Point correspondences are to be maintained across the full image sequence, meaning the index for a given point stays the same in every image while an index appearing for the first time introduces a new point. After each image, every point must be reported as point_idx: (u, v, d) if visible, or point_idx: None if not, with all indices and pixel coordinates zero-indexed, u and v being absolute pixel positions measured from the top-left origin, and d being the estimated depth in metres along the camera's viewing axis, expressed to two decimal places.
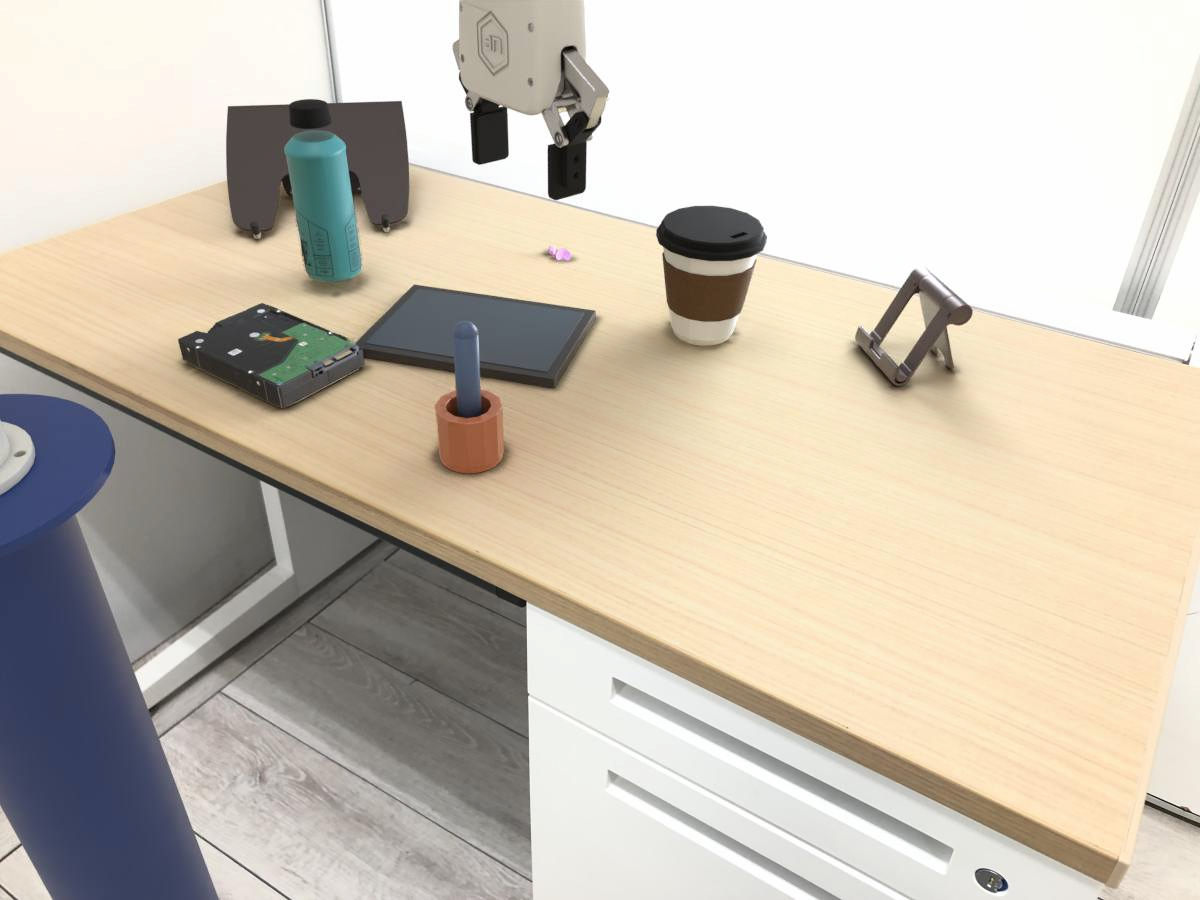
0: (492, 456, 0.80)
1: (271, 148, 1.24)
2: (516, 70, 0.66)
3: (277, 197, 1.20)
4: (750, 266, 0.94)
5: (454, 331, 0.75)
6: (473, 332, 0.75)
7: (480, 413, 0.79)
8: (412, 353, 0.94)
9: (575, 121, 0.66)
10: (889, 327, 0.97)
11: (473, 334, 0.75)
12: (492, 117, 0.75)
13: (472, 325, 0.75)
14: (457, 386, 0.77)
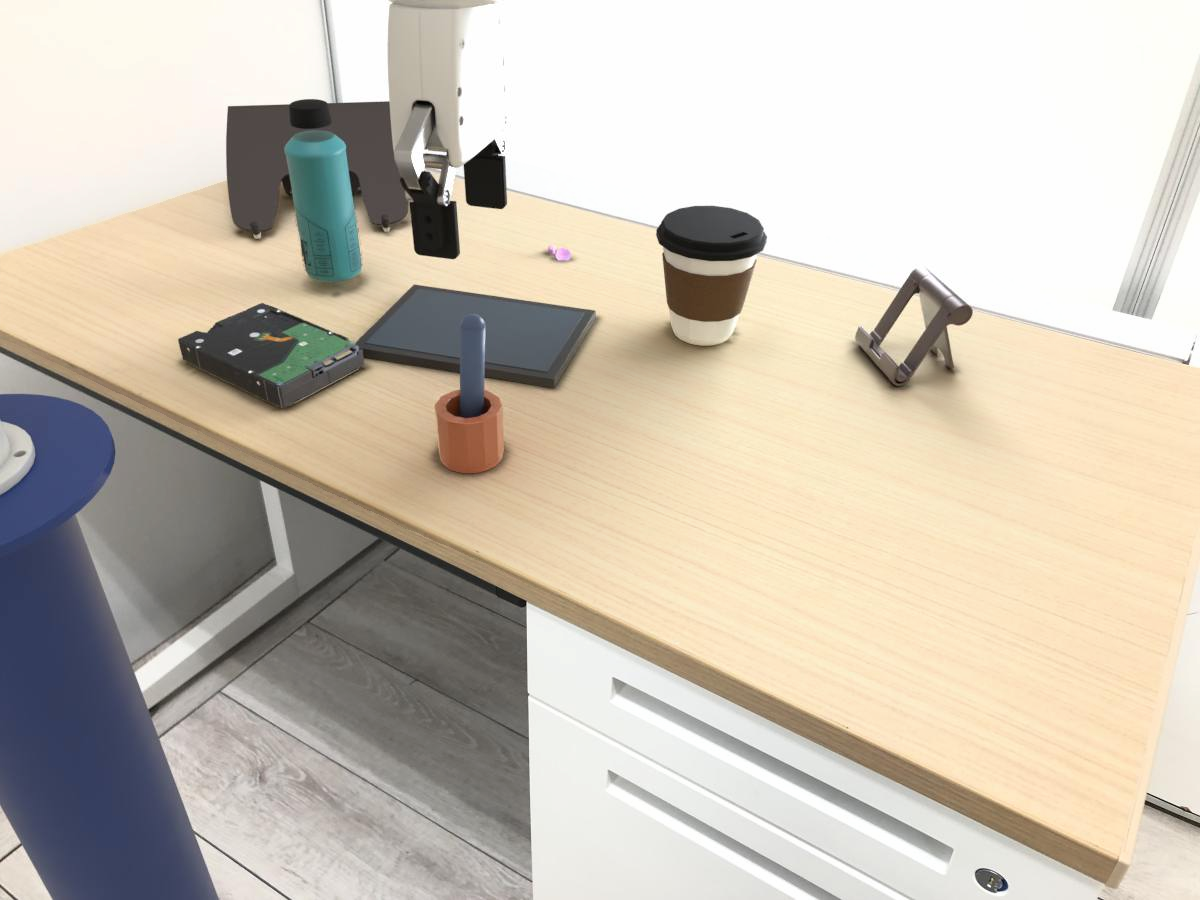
0: (492, 456, 0.80)
1: (271, 148, 1.24)
2: None
3: (277, 197, 1.20)
4: (750, 266, 0.94)
5: (462, 322, 0.76)
6: (481, 324, 0.76)
7: (482, 410, 0.80)
8: (412, 353, 0.94)
9: None
10: (889, 327, 0.97)
11: (480, 326, 0.76)
12: (482, 162, 0.72)
13: (480, 317, 0.76)
14: (461, 380, 0.78)
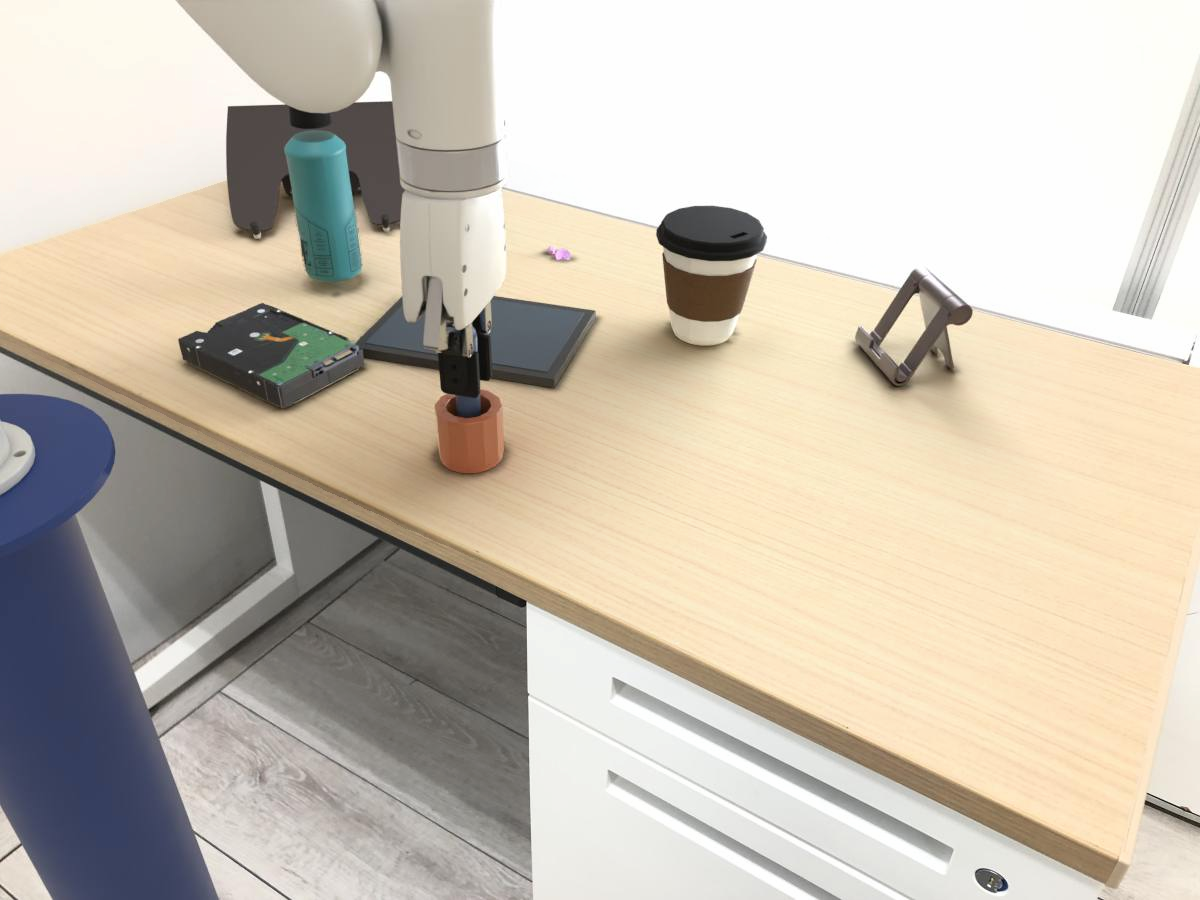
0: (492, 456, 0.80)
1: (271, 148, 1.24)
2: None
3: (277, 197, 1.20)
4: (750, 266, 0.94)
5: None
6: None
7: (480, 414, 0.79)
8: (412, 353, 0.94)
9: None
10: (889, 327, 0.97)
11: None
12: None
13: None
14: None
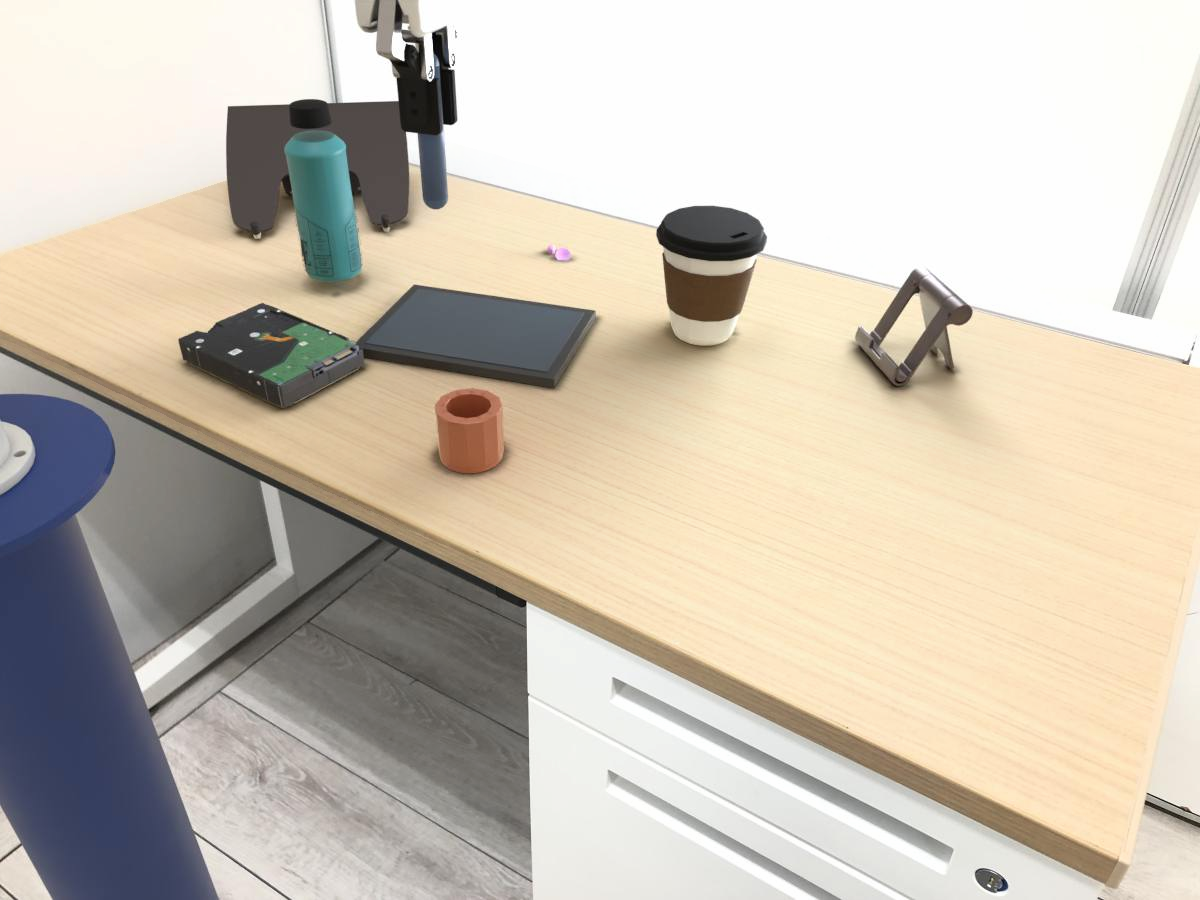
0: (492, 456, 0.80)
1: (271, 148, 1.24)
2: None
3: (277, 197, 1.20)
4: (750, 266, 0.94)
5: None
6: (433, 61, 0.70)
7: (444, 162, 0.74)
8: (412, 353, 0.94)
9: None
10: (889, 327, 0.97)
11: None
12: None
13: None
14: None
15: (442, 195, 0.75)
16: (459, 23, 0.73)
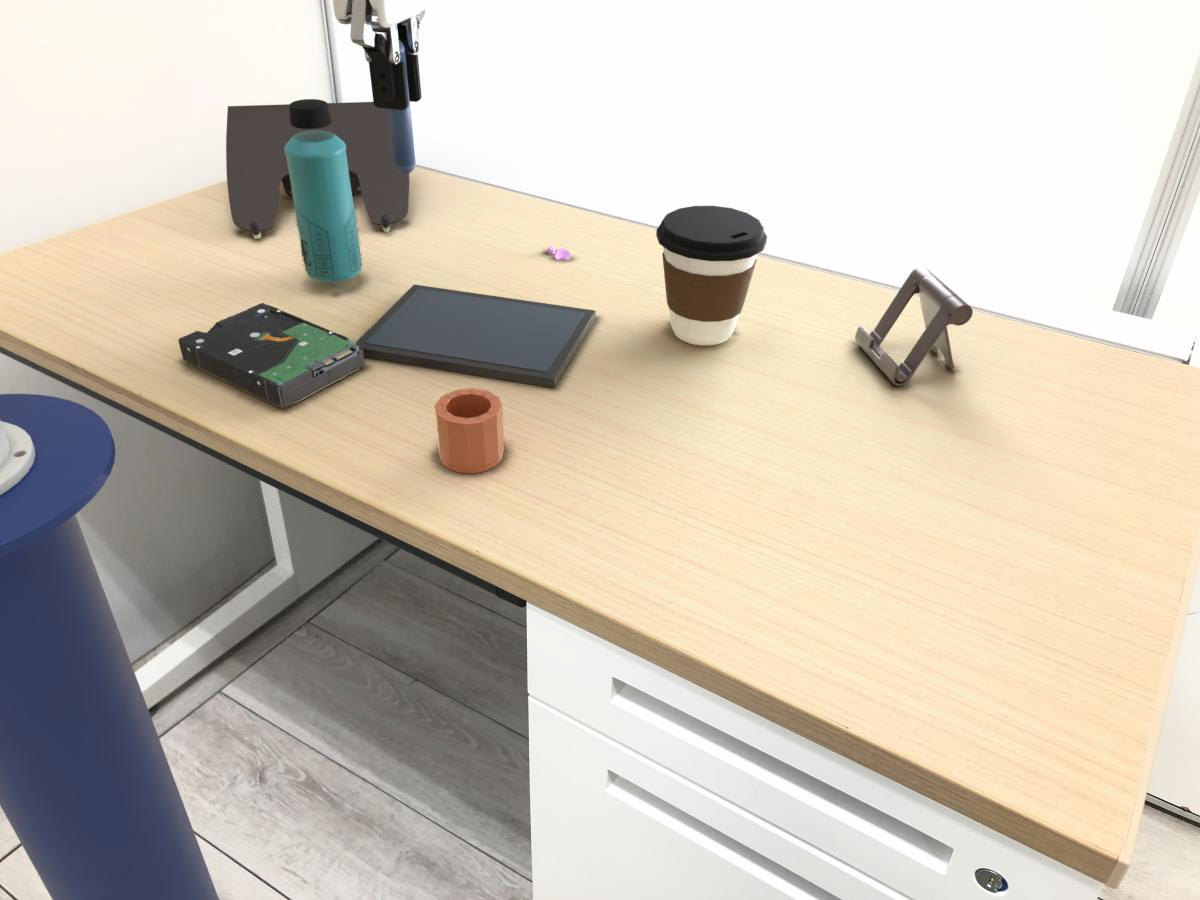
0: (492, 456, 0.80)
1: (271, 148, 1.24)
2: None
3: (277, 197, 1.20)
4: (750, 266, 0.94)
5: None
6: (399, 47, 0.83)
7: (411, 133, 0.88)
8: (412, 353, 0.94)
9: None
10: (889, 327, 0.97)
11: (399, 49, 0.83)
12: None
13: None
14: None
15: (410, 161, 0.89)
16: (421, 16, 0.87)
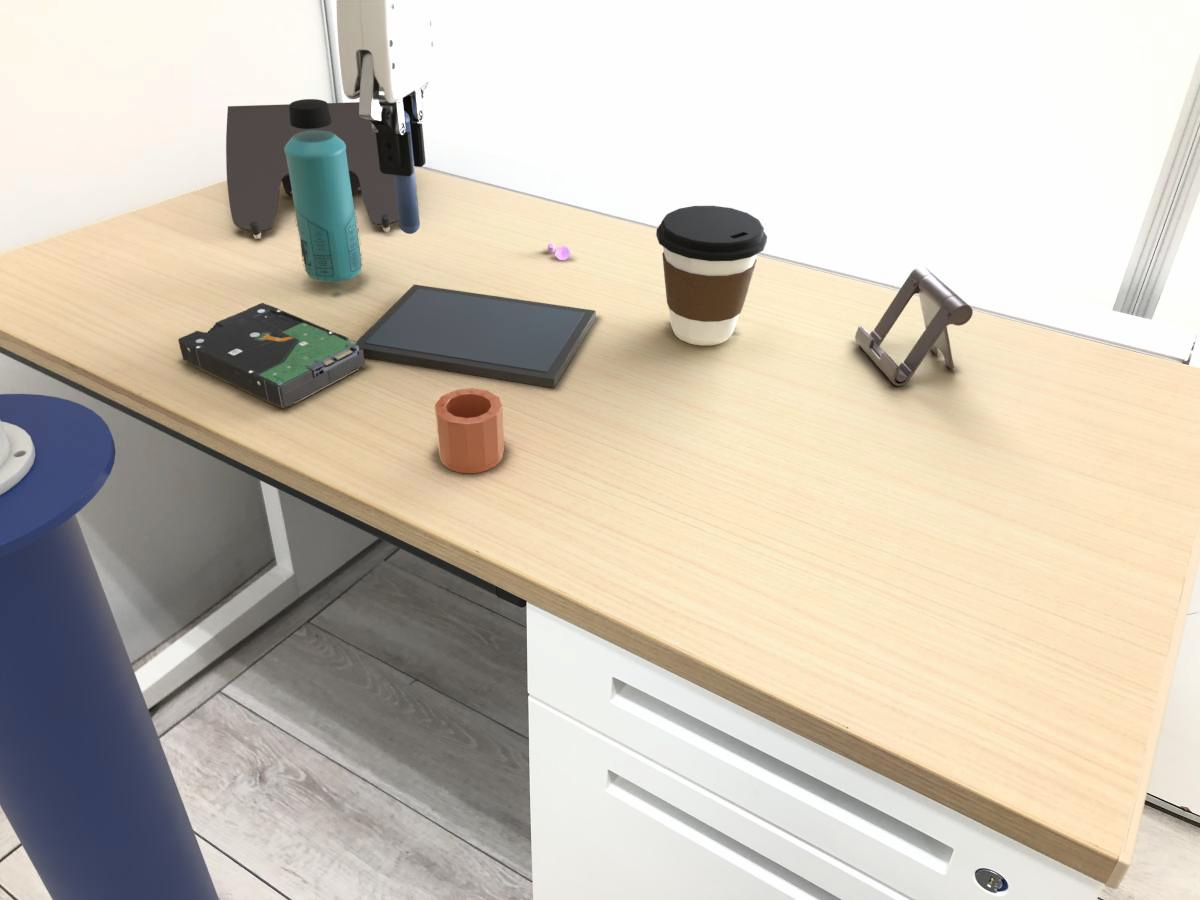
0: (492, 456, 0.80)
1: (271, 148, 1.24)
2: None
3: (277, 197, 1.20)
4: (750, 266, 0.94)
5: None
6: (405, 117, 0.88)
7: (415, 196, 0.92)
8: (412, 353, 0.94)
9: None
10: (889, 327, 0.97)
11: (405, 119, 0.88)
12: None
13: (404, 112, 0.88)
14: None
15: (415, 222, 0.93)
16: (425, 85, 0.91)
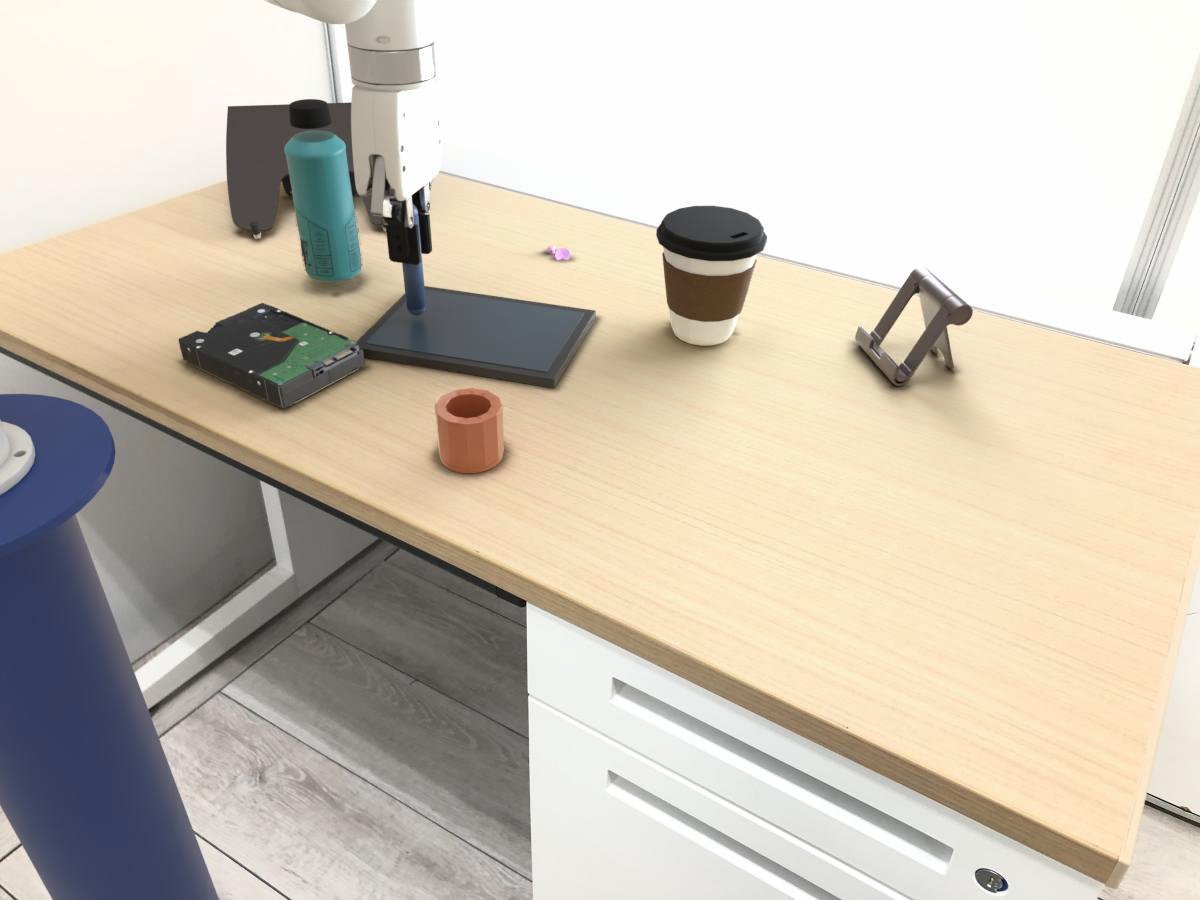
0: (492, 456, 0.80)
1: (271, 148, 1.24)
2: None
3: (277, 197, 1.20)
4: (750, 266, 0.94)
5: None
6: (413, 211, 0.93)
7: (422, 282, 0.97)
8: (412, 353, 0.94)
9: None
10: (889, 327, 0.97)
11: (413, 213, 0.93)
12: None
13: None
14: None
15: (421, 305, 0.98)
16: None
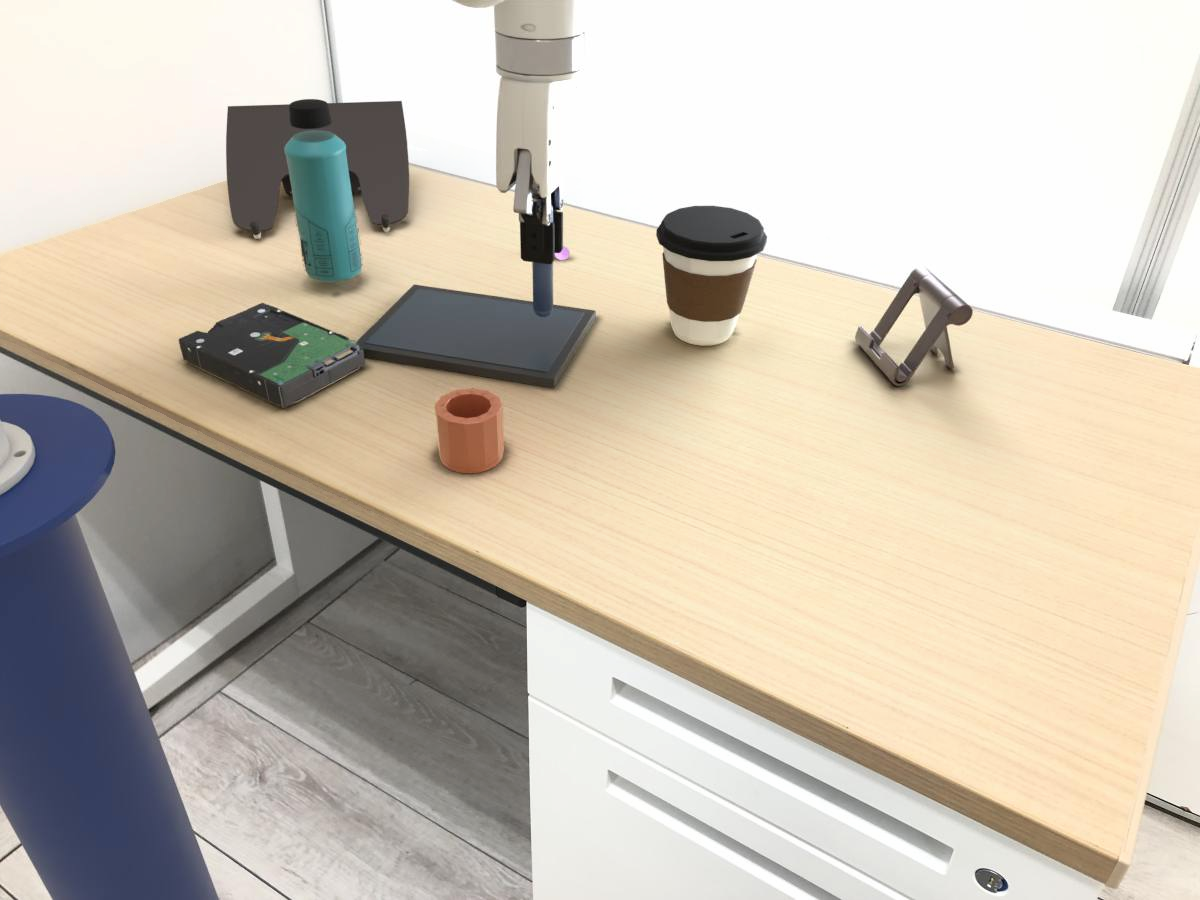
0: (492, 456, 0.80)
1: (271, 148, 1.24)
2: None
3: (277, 197, 1.20)
4: (750, 266, 0.94)
5: None
6: None
7: (552, 282, 0.93)
8: (412, 353, 0.94)
9: None
10: (889, 327, 0.97)
11: None
12: None
13: None
14: None
15: (549, 307, 0.94)
16: None
